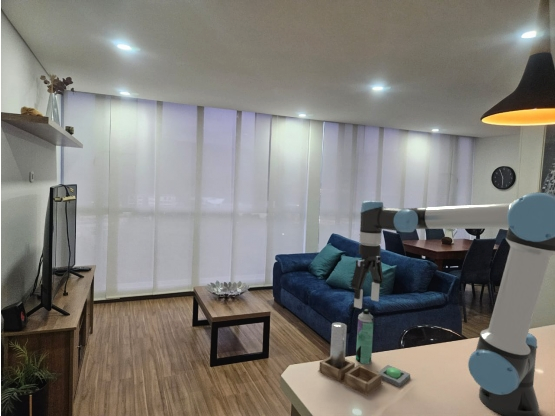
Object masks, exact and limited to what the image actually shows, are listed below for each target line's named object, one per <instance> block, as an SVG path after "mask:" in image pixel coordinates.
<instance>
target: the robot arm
mask: <svg viewBox="0 0 555 416" xmlns="http://www.w3.org/2000/svg"><path fill="white" fill-rule="evenodd" d="M428 229H429V230H430V229H431V230H433V229H436V230H439V229H440V230H444V229H445V230H447V229H448V230H451V229H457V230H458V229H459V230H460V229H461V230H462V229H468V230H469V229H473V230H474V229H479V230H480V229H482V230H483V229H485V230H486V229H492V230H493V229H507V231H506V236H505V240H506V242H507V243H508V245H509V252H508V254H507V259H506V261H505V262H506V263H505V267H504V270H503V274H502V277H501V281H500V285H499V289H498V293H497V296H496V300H495V304H494V307H493V311H492V315H491V318H490V322H489V326H488V328H486V329H483V330H481V331H480V334H479V338H478V341H477V345H476V348H475V351H473V352H472V353H471V355H469V358H468V362H467V363H468V364H467V365H468V366H467V367H468V371H469V373H470V375H471V377H472V378H473V380H474V381H475V383H476V384H477V385H479V386H480V387H479V389H478V390H479V391H478V392H479V393H478V398H479V400H480V401H481V403H483V404H484V406H486V407H487V408H489V409H490V410H491V411H494V412H495V413H498V414H499V415H501V416H539V412H540V405H539V402H538V399H537V395H536V392H535V388H534V387H535V386H534V380H535V369H536V359H537V349H538V338H537V337H536V335H533V334H531V333H530V332H529V331H530V327H531V325H532V321H533V317H534V313H535V310H536V307H537V304H538V301H539V297H540V294H541V291H542V287H543V283H544V280H545V277H546V273H547V269H548V266H549V264H550V259H551V257H552V256H554V255H555V194H554V193H548V192H547V193H546V192H538V191H537V192H533V193H532V192H531V193H527V194H524V195H523V196H520V197H519V198H515V199H514V200H513V202H507V203H506V202H505V203H487V204H471V205H469V204H468V205H467V204H464V205H450V206H431V207H430V206H429V207H411V208H410V207H406V208H397V207H395V208H393V207H390V208H389V207H385V206H384V202H383V201H377V200H363V202H361V211H360V226H359V244H358V254H359V255H361V258H360V260H359V259H356V260H355V267H354V272H353V276H352V280H351V284H350V288H351V289H354V299H353V301H354V302H353V308H357V309H360V310H361V309H362V308H363V294H364V293H363V292H364V290H363V289H362V288H363V285H364V283H365V281H366V278H367V275H368V274H369V273H370V275H371V279H372V282H371V294H370V296H371V297H370V300H371V301H373V302H379V301H380V300H379V297H380V284H381V285H382V284H383V283H384V282H383V281H384V274H383V267H382V256H380V255H381V251H382V250H381V249H382V248H381V247H382V246H381V244H382V231H383V230H388V231H395V232H400V233H413V232H414V231H415V230H428Z"/></svg>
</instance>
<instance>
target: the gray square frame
mask: <svg viewBox="0 0 555 416" xmlns="http://www.w3.org/2000/svg"><path fill="white" fill-rule="evenodd" d="M390 367H392V368H396V367H394V366H392V365H390V364H387V365H386V366H384V367H383V368H382V369H380V370H379V371H377V373H379V374H381V375H382V381H385V382H387V383H389V384H392V385H394V386H396V387H398V388H400V387H402V385H404V384H405V383H406V382H407V381H409V379H410V378H411V373H410V372H407V371H403V370H401V369H399V368H396V369H398V370H400V372H401V375H400V378H399V379H395V378H393V377H391V376H388V375H386V374H387V368H390Z"/></svg>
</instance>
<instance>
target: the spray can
mask: <svg viewBox="0 0 555 416" xmlns="http://www.w3.org/2000/svg"><path fill="white" fill-rule="evenodd" d="M374 319H375V318H374V316H373V315H372V314H371V312H370V310H369V309H368V308H364V309H363V311H362V312H361V313H359V314H358V317H357V332H356V333H357V334H356V347H355V348H356V349H355V350H356V352H355V360H356V362H357V363H360V364H364V365H366V364H367V365H368V364H371V362H372V356H373V355H372V353H373V336H374V334H373V333H374Z"/></svg>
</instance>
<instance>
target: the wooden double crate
mask: <svg viewBox="0 0 555 416" xmlns="http://www.w3.org/2000/svg"><path fill="white" fill-rule="evenodd" d="M355 365H356V362H353V361H350V360H349V359H347V358H345V367H343V368H342V369H338V368H335V367H333V366H331V365H330V356H328V357H326V358H324V359H323V360H321V361H319V370H317V372H319V373H321V374H322V375H325V376H326V377H329V378H330V379H332V380H335V381H337V382H338V383H341V384H342V385H345V386H347V387H349V388H350V389H353V390H355V391H357V392H358V393H361V394H363V395H364V396H369V395H370V394H372V393H373V392H374V391H376V389H378V388H380V387H381V386H382V385H383V384H384V383H383V382H382V381H383V380H382V375H381V374H379V373H377V372H378V371H377V372H376V371H374V370H371V369H369V368H367V367H366V366H363V365H360V364H357V365H356V366H355Z"/></svg>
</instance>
